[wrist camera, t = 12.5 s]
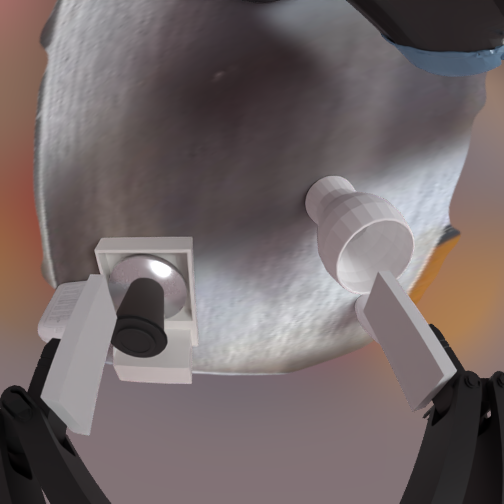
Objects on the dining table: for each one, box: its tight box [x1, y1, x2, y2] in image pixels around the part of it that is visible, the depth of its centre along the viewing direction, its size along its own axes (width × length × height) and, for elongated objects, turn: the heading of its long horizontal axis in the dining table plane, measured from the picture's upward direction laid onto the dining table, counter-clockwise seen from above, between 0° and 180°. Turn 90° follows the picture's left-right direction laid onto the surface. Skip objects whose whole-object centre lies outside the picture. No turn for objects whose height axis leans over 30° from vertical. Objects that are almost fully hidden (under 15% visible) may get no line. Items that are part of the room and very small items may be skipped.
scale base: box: [95, 237, 199, 384], centre depth 42 cm, size 21×14×11 cm
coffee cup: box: [110, 278, 168, 358], centre depth 37 cm, size 8×8×10 cm
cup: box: [305, 176, 415, 294], centre depth 35 cm, size 11×11×15 cm
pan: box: [108, 254, 187, 320], centre depth 43 cm, size 12×12×3 cm
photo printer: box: [38, 281, 87, 343], centre depth 39 cm, size 10×4×12 cm, turn 95°
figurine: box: [355, 294, 380, 344], centre depth 48 cm, size 7×8×12 cm
